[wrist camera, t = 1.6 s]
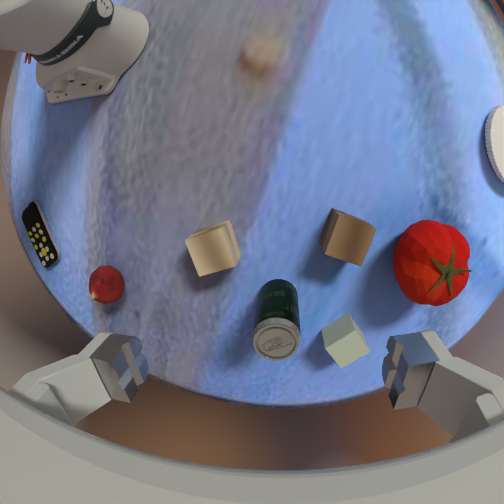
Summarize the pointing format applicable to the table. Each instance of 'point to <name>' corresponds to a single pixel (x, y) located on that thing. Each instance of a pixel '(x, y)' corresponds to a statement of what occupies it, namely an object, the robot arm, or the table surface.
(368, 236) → the walnut block
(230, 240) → the beech block
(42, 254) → the remote control
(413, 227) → the tomato
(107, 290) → the onion
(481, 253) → the table surface
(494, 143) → the plastic lid
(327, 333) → the sage painted block
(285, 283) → the beer can
